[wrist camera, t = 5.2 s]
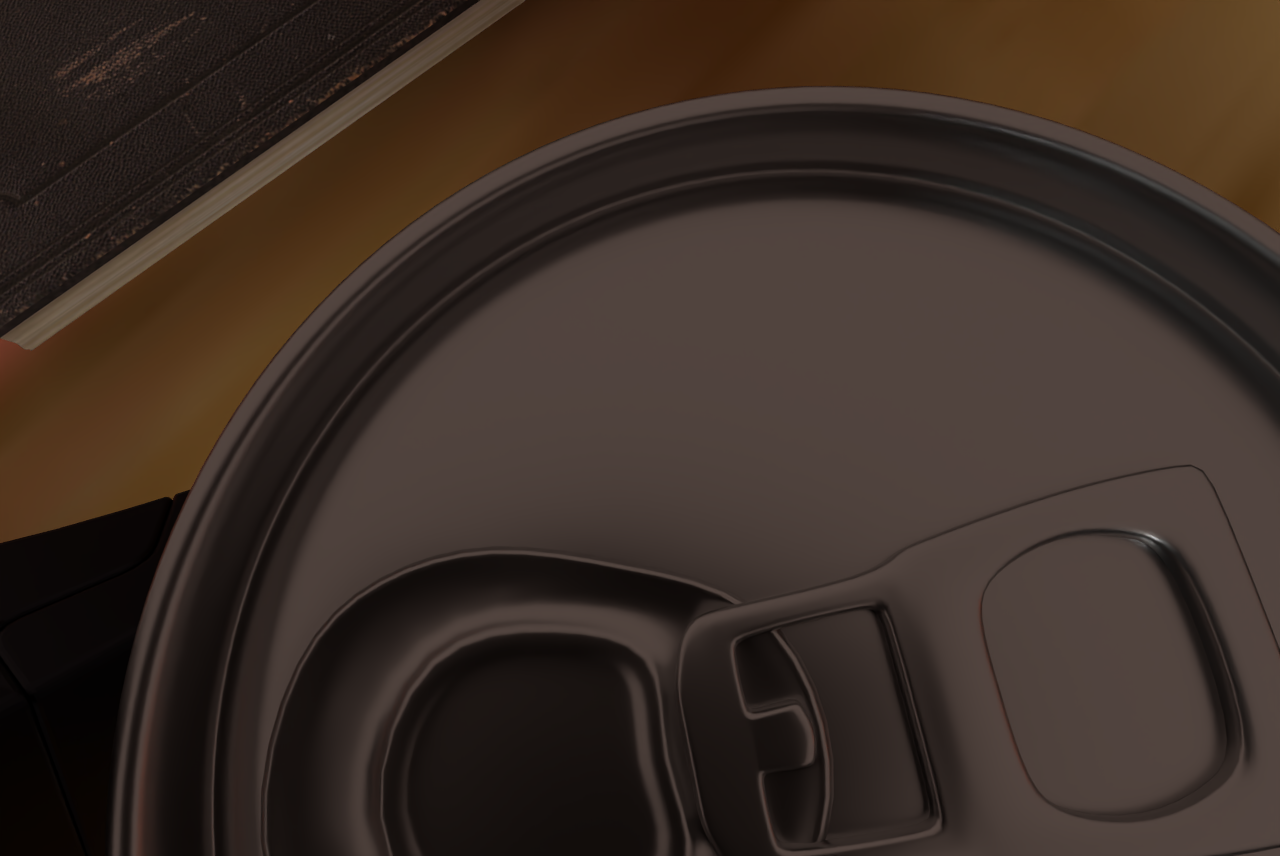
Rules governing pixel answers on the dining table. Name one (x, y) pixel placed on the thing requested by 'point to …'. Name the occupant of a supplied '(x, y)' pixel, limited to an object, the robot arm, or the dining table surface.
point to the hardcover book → (176, 123)
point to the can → (744, 513)
